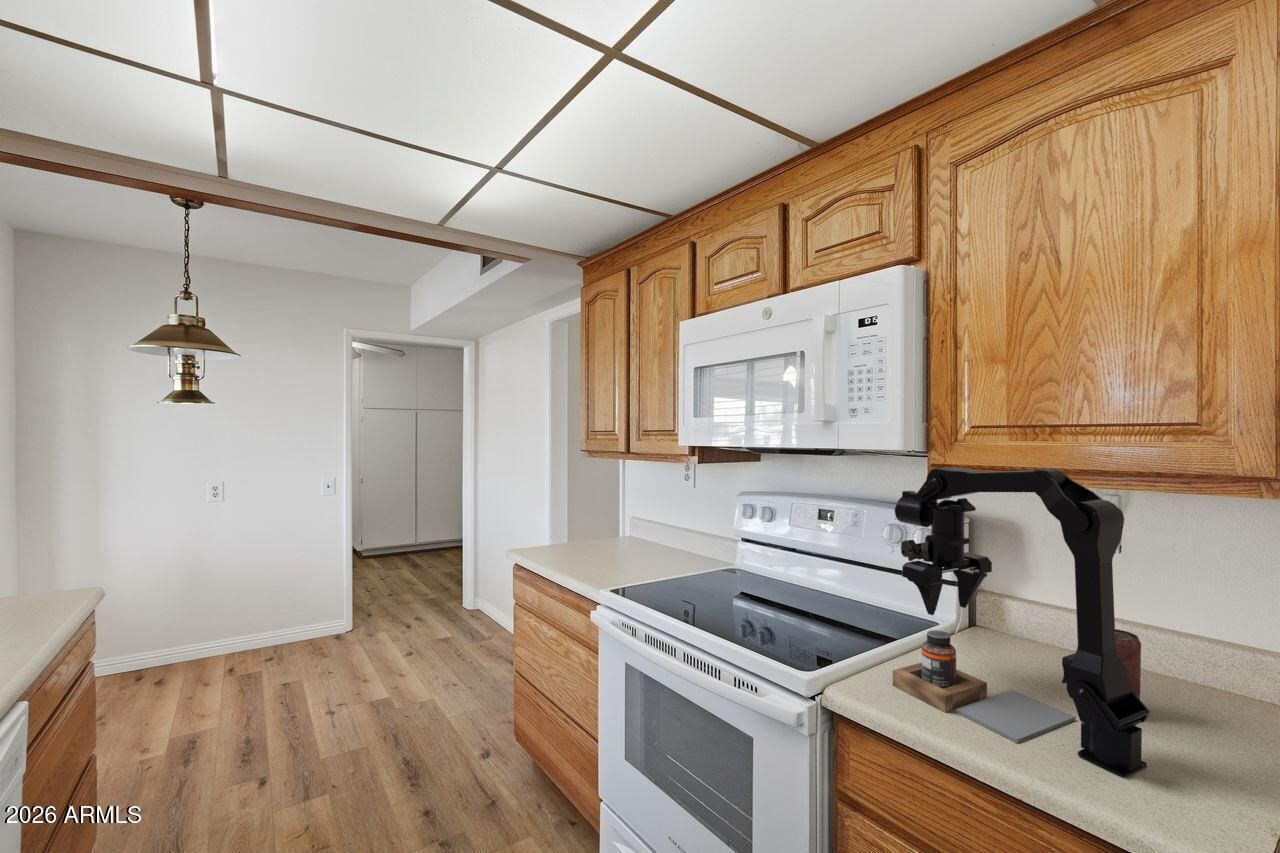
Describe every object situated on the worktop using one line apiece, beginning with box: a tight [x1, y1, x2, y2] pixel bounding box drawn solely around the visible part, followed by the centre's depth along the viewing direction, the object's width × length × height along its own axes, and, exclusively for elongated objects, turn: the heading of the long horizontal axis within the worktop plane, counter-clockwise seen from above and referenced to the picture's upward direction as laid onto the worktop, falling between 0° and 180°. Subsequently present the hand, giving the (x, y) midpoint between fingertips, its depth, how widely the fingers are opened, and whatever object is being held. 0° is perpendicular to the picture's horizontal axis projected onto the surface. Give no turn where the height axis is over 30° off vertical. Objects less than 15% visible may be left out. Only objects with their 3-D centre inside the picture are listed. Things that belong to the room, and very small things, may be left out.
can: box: [1115, 628, 1142, 700], centre depth 106 cm, size 6×6×14 cm
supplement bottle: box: [921, 629, 957, 689], centre depth 114 cm, size 6×6×11 cm
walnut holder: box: [892, 662, 988, 713], centre depth 114 cm, size 12×12×3 cm
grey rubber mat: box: [954, 689, 1076, 744], centre depth 105 cm, size 11×16×1 cm
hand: (947, 610), depth 116 cm, fingers open, 9 cm apart
